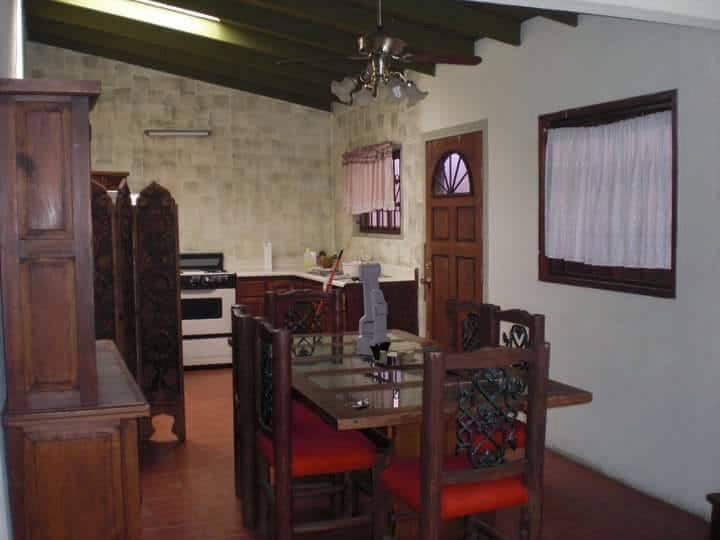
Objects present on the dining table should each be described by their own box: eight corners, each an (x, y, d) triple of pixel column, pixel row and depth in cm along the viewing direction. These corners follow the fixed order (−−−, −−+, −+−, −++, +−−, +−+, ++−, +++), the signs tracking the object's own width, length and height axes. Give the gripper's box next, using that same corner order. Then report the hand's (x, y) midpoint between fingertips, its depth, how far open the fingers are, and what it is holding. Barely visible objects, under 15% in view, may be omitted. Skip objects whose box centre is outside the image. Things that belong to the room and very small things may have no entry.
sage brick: (374, 362, 357) (374, 351, 356) (379, 361, 360) (378, 350, 360) (382, 363, 355) (382, 352, 354) (386, 361, 358) (386, 351, 358)
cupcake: (436, 356, 369) (436, 331, 368) (418, 355, 371) (418, 330, 370) (438, 352, 378) (438, 328, 377) (421, 352, 379) (421, 327, 378)
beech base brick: (396, 360, 362) (396, 351, 361) (402, 358, 367) (402, 349, 367) (408, 361, 359) (408, 352, 359) (414, 359, 364) (414, 350, 364)
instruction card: (375, 355, 373) (375, 354, 373) (382, 351, 382) (382, 351, 382) (399, 356, 369) (399, 356, 369) (405, 353, 377) (405, 352, 377)
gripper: (379, 332, 348) (380, 362, 349) (395, 327, 360) (395, 357, 361) (366, 331, 351) (366, 361, 353) (382, 326, 364) (382, 355, 365)
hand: (380, 359), depth 357 cm, fingers open, 6 cm apart
